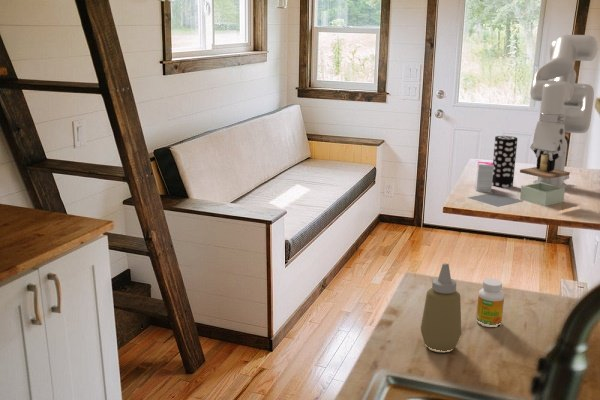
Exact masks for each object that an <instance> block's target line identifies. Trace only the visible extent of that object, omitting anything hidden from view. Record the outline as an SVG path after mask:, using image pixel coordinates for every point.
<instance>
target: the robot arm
mask: <svg viewBox="0 0 600 400" xmlns="http://www.w3.org/2000/svg"><path fill="white" fill-rule="evenodd" d="M598 46H599V45H598V41H597V39H596V37H595V36H593V35H590V34H589V35H588V34H564V35H561V36H559V37H557V39H553V41H552V42H551V43H550V45H549V61H548V62H546V63H545V64H543V65H542V66H540V68H538V69H537V70H536V72H535V73H534V75H533V77H532V83H531V86H530V97H531V99H532V100H533V101H535V102H540V112H539V119H538V120H539V121H537V123H536V126H535V129H534V135H533V141H532V144H531V145H530V147H529V148H530V150H532V152H533V153H534V155H535V158H536V167H537V169H540V161H541V154H549V159H550V160H548V163H547V171H553V170H554V169H557V170H561V171H565V167H566V161H567V160H566V158H567V151H568V141H567V139H566V138H565V137H566V133H570V134H586V133H588V131H589V129H590V127H591V120H592V113H593V106H594V98H595V90H594V87H593V86H592V85H591V84H588V83H576V79H577V72H576V70H575V69H574V67H575V63H576V61H577V62H579V61H581V62H583V61H584V62H585V61H586V62H590V61H594V59H595V58H596V57H597V55H598V50H599V49H598V48H599V47H598ZM569 179H570V175H567V176H562V177H556V178H551V179H546V178H542V177H538V176H537V179H536V180H533V181H532V184H534V183H539V182H541V183H545V184H549V185H553V186H557V187H562V188H565V189H567V183H565V182H564V181H566V180H569Z"/></svg>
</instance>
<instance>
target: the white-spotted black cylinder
mask: <svg viewBox="0 0 600 400" xmlns="http://www.w3.org/2000/svg"><path fill="white" fill-rule="evenodd" d="M518 139H519V138H518V137H516V136H511V135H497V136H495V137H494V147H493V159H492V163H493V165H494V170H493V179H492V187H495V188H503V189H504V188H505V189H508V188H512V187H513V186H514V176H515V168H516V167H515V166H516V160H517V159H516V158H517V147H518Z"/></svg>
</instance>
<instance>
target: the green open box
mask: <svg viewBox="0 0 600 400" xmlns="http://www.w3.org/2000/svg"><path fill="white" fill-rule="evenodd" d="M565 191H566V188H562V187H557V186H553V185H549V184H545V183H541V182H539V183H534V184H533V183H528V184H524V185H521V187H520V197H519V200H522V201H523V202H524V201H525V202H528V203H532V204H535V205H540V206H543V207H548V206H552V205H555V204H560V203H564V200H565Z"/></svg>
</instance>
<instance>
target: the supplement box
mask: <svg viewBox="0 0 600 400" xmlns="http://www.w3.org/2000/svg"><path fill="white" fill-rule="evenodd" d="M476 168H477V169H476V177H475V186H474V189H475V192H482V193H483V192H484V193H485V192H487V193H492V187H493V186H492V179H493V170H494V165H493V161H492V162H488V161H477V167H476Z"/></svg>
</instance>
